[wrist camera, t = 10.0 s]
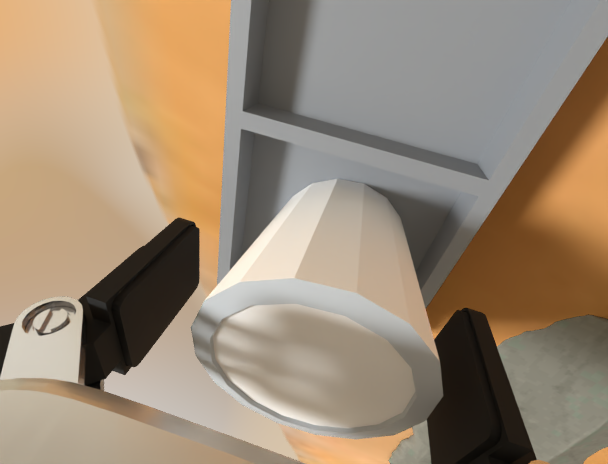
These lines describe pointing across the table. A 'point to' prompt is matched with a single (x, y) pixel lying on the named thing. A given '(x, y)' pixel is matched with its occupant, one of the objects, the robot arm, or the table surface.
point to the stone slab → (549, 392)
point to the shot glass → (325, 320)
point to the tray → (394, 108)
